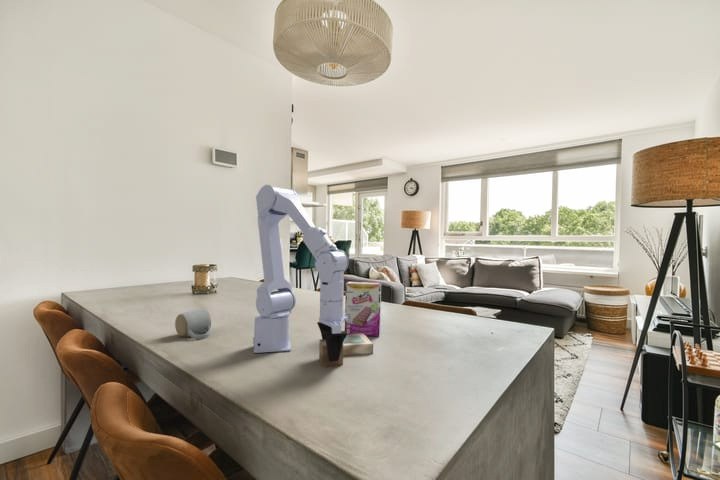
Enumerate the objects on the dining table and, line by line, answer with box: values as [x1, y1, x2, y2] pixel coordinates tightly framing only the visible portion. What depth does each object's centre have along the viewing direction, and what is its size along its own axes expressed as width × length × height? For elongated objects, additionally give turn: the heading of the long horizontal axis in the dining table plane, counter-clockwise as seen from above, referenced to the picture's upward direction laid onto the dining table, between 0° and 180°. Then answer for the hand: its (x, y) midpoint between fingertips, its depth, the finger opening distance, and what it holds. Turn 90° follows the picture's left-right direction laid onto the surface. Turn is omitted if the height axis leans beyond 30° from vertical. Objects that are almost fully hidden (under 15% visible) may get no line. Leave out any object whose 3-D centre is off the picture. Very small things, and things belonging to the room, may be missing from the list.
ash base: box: [343, 334, 374, 356], centre depth 93 cm, size 10×10×3 cm
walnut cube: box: [318, 339, 344, 368], centre depth 83 cm, size 5×5×5 cm
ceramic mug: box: [174, 307, 212, 340], centre depth 103 cm, size 11×8×8 cm
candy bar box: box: [344, 281, 382, 338], centre depth 107 cm, size 11×5×16 cm, turn 84°
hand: (330, 355), depth 83 cm, fingers open, 7 cm apart
